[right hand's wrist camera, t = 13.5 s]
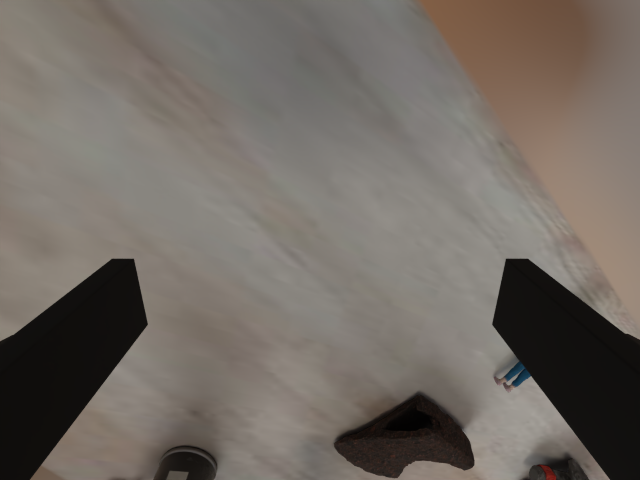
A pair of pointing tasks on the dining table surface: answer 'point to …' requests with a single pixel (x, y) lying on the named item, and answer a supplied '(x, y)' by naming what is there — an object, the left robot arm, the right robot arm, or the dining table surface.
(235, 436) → the dining table surface
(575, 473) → the valve
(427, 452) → the axe head
